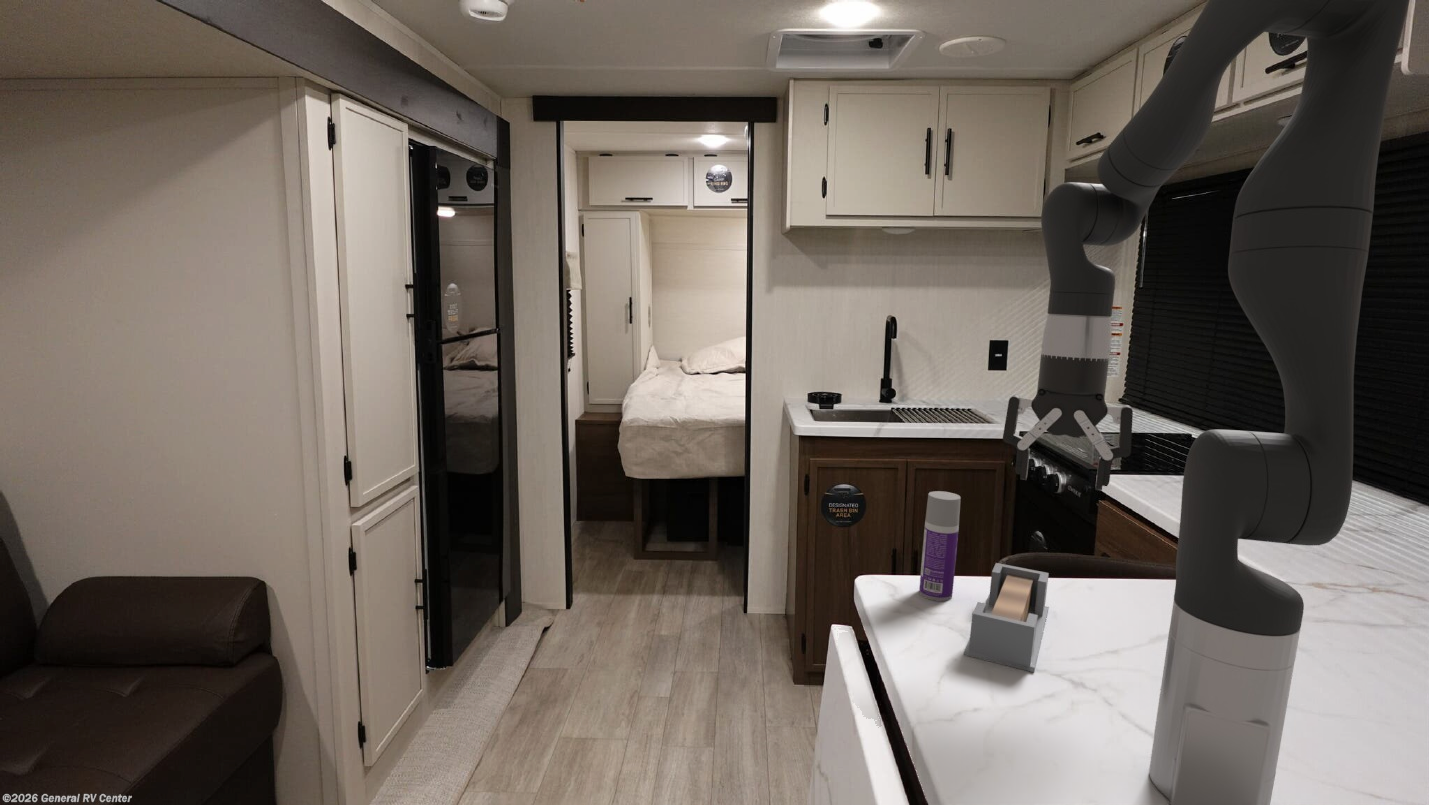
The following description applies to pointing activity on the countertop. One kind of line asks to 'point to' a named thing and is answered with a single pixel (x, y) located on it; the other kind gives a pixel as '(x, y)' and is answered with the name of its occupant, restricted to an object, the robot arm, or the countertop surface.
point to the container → (940, 546)
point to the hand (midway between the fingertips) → (1060, 483)
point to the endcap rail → (1009, 623)
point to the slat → (1014, 598)
